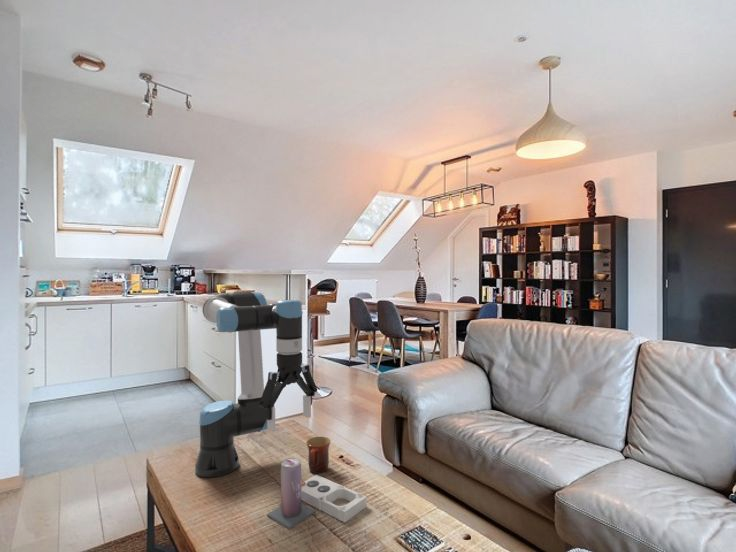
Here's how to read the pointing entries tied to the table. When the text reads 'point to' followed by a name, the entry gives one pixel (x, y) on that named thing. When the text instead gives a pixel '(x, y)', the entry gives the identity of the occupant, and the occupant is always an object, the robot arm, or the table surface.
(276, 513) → the coaster
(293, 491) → the beverage can
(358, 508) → the strip dock
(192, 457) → the table surface
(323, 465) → the mug
